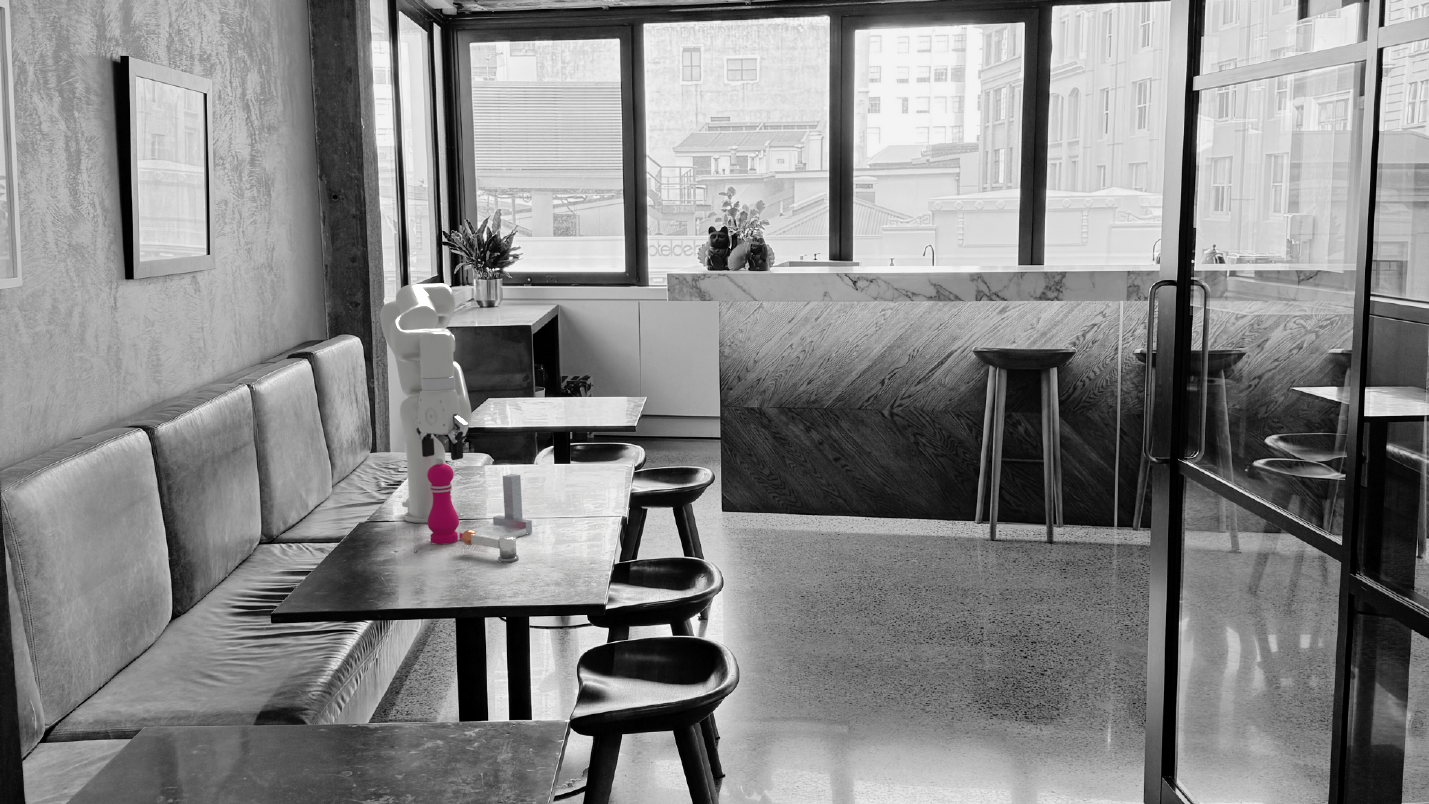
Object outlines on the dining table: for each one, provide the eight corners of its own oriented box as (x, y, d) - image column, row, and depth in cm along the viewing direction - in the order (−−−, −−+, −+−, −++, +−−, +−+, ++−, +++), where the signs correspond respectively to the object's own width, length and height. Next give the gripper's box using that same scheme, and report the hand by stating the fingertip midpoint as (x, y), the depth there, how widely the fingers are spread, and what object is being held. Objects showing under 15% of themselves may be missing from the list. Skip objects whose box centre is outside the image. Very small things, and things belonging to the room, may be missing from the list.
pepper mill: (452, 545, 271) (447, 460, 268) (423, 544, 273) (418, 460, 270) (465, 537, 278) (460, 454, 275) (436, 536, 280) (431, 454, 277)
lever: (519, 555, 258) (519, 535, 257) (508, 558, 255) (507, 539, 254) (470, 546, 267) (469, 527, 266) (458, 549, 264) (457, 531, 263)
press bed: (428, 548, 269) (424, 492, 267) (508, 524, 290) (505, 473, 288) (508, 563, 254) (505, 504, 253) (586, 537, 275) (584, 483, 273)
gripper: (400, 384, 273) (405, 457, 275) (452, 388, 263) (456, 463, 265) (425, 381, 279) (429, 452, 281) (476, 384, 269) (480, 457, 271)
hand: (442, 457), depth 273 cm, fingers open, 9 cm apart
